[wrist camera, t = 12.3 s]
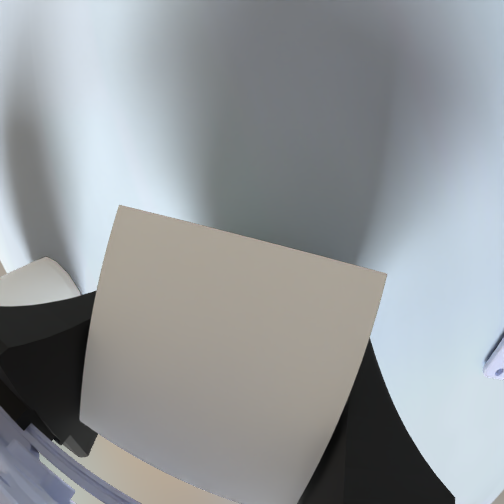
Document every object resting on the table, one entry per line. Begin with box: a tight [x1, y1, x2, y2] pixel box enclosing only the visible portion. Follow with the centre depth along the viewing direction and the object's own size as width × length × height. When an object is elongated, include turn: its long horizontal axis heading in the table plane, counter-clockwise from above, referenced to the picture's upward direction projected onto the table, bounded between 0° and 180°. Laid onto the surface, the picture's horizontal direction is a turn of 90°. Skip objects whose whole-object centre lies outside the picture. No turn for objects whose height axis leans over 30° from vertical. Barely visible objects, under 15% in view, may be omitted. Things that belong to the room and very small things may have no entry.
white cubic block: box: [80, 205, 387, 504], centre depth 9 cm, size 6×6×6 cm
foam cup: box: [0, 257, 81, 306], centre depth 14 cm, size 10×9×13 cm
